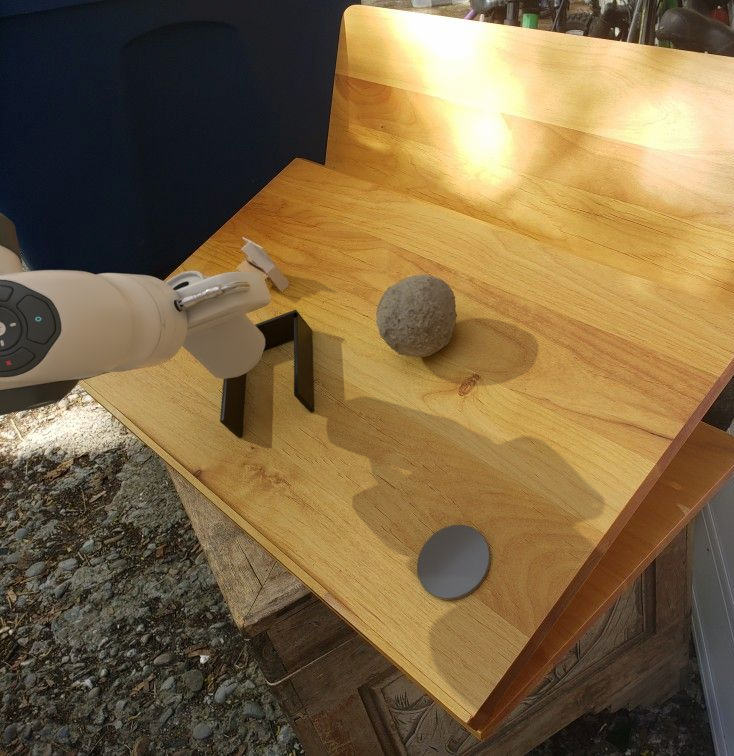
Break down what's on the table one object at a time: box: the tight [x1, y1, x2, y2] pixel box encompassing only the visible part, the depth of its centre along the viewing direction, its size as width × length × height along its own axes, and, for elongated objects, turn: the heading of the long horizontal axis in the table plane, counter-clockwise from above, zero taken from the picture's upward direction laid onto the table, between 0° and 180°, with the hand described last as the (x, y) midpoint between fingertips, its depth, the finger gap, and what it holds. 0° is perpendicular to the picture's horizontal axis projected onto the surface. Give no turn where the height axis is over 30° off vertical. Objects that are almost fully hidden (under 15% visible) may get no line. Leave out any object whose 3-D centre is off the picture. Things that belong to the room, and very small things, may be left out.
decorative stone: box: [375, 274, 458, 358], centre depth 83 cm, size 10×8×10 cm
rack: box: [219, 309, 315, 439], centre depth 89 cm, size 15×11×4 cm
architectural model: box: [236, 236, 290, 293], centre depth 101 cm, size 3×7×7 cm, turn 49°
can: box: [164, 270, 265, 380], centre depth 77 cm, size 8×8×12 cm
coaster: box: [416, 524, 492, 601], centre depth 68 cm, size 8×8×1 cm
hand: (207, 318), depth 77 cm, fingers closed on can, 7 cm apart
